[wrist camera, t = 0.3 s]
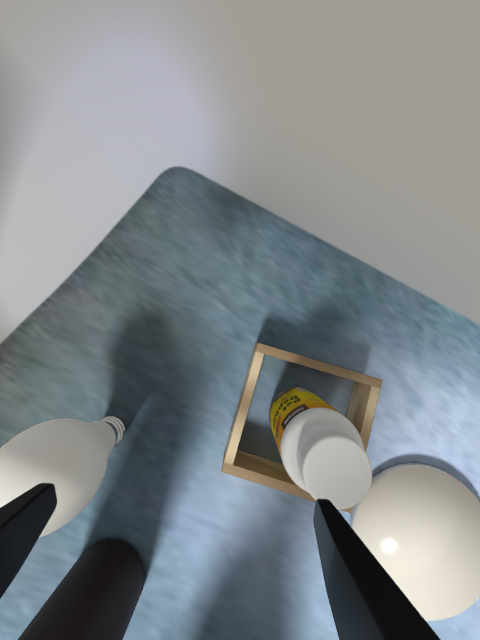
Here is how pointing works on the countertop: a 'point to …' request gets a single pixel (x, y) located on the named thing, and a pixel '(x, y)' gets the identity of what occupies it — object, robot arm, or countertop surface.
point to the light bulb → (59, 463)
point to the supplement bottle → (320, 448)
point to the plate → (424, 536)
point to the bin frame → (274, 472)
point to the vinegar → (92, 596)
